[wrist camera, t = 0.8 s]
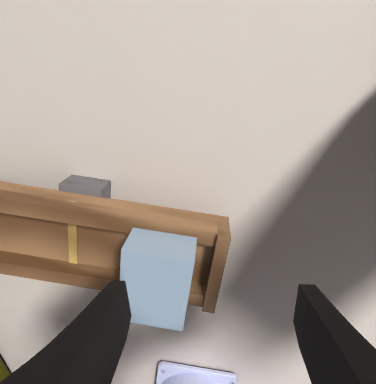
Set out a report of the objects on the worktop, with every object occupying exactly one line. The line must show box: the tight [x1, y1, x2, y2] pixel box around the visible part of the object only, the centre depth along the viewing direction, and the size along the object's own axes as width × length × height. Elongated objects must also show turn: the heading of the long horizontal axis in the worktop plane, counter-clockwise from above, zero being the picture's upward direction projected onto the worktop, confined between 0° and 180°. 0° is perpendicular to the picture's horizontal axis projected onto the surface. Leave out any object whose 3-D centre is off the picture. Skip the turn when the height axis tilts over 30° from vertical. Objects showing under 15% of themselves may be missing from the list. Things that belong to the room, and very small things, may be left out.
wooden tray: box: [0, 175, 231, 313], centre depth 20 cm, size 7×21×5 cm, turn 82°
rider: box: [120, 227, 197, 331], centre depth 17 cm, size 5×4×4 cm
